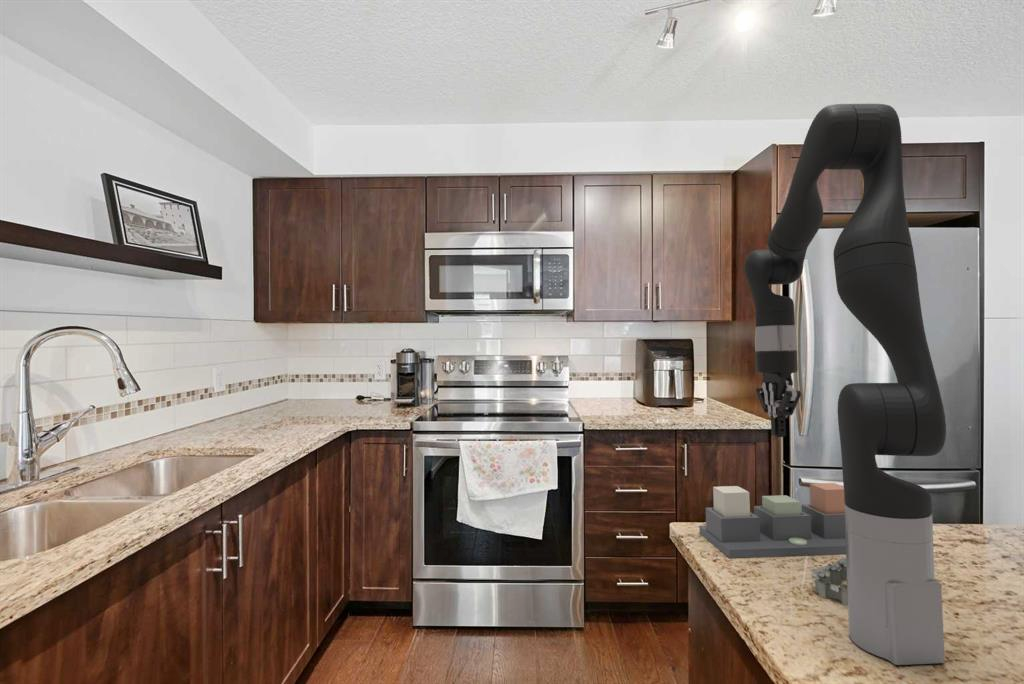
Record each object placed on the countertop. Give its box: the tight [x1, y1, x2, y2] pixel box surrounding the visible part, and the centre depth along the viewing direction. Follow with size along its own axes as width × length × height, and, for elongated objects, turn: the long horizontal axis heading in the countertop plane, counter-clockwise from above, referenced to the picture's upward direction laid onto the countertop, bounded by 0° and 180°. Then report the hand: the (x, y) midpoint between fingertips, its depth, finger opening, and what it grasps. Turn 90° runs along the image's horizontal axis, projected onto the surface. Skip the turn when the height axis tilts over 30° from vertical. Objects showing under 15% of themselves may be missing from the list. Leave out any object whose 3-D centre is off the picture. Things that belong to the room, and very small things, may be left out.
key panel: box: [698, 503, 846, 559], centre depth 106 cm, size 14×28×6 cm, turn 92°
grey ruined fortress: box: [810, 556, 848, 607], centre depth 84 cm, size 11×8×4 cm
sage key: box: [761, 494, 802, 516], centre depth 106 cm, size 5×5×6 cm
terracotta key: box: [809, 482, 845, 514], centre depth 107 cm, size 5×5×6 cm
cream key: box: [712, 485, 751, 517], centre depth 106 cm, size 5×5×6 cm
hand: (778, 436), depth 107 cm, fingers closed
